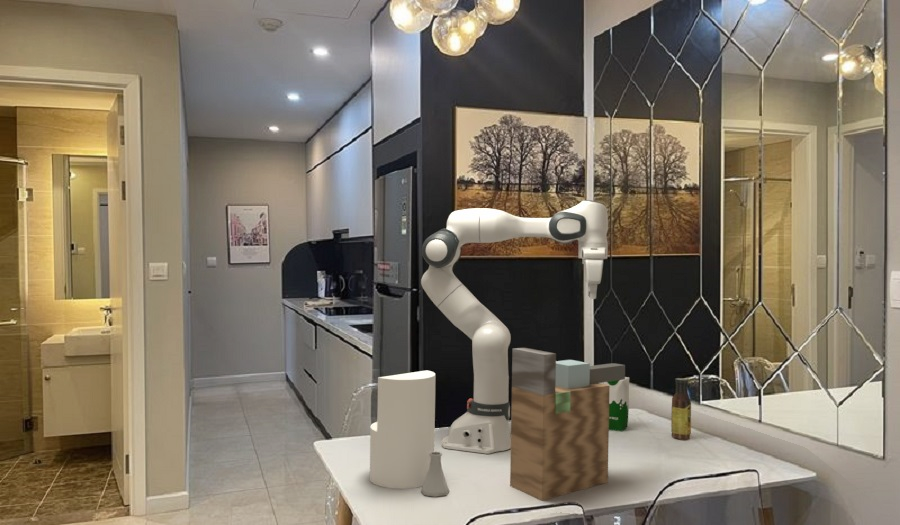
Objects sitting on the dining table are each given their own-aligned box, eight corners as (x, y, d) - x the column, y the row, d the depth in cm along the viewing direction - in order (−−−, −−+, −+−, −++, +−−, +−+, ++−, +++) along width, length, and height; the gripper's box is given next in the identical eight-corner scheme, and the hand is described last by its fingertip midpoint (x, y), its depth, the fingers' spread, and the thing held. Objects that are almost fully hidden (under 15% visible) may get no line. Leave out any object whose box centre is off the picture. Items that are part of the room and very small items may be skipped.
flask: (448, 487, 168) (449, 449, 168) (449, 497, 161) (450, 457, 160) (420, 487, 168) (421, 448, 167) (420, 497, 160) (421, 457, 160)
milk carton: (598, 428, 229) (599, 372, 228) (607, 423, 236) (608, 368, 236) (623, 432, 224) (624, 374, 224) (631, 427, 232) (632, 371, 231)
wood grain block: (542, 500, 159) (545, 354, 159) (509, 485, 170) (511, 348, 169) (608, 482, 173) (611, 348, 173) (574, 469, 183) (576, 342, 183)
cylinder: (446, 478, 175) (448, 374, 174) (397, 493, 163) (399, 382, 162) (405, 462, 187) (407, 366, 187) (356, 476, 175) (358, 372, 175)
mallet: (567, 388, 168) (568, 365, 168) (549, 384, 173) (549, 361, 173) (629, 380, 181) (629, 358, 181) (609, 376, 187) (610, 355, 187)
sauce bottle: (692, 441, 215) (693, 381, 215) (672, 439, 216) (673, 380, 216) (689, 435, 221) (690, 377, 221) (669, 434, 222) (670, 376, 222)
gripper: (581, 253, 211) (580, 295, 211) (583, 252, 190) (583, 299, 191) (600, 253, 210) (600, 296, 210) (605, 252, 189) (605, 300, 190)
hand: (592, 297), depth 200 cm, fingers open, 8 cm apart
